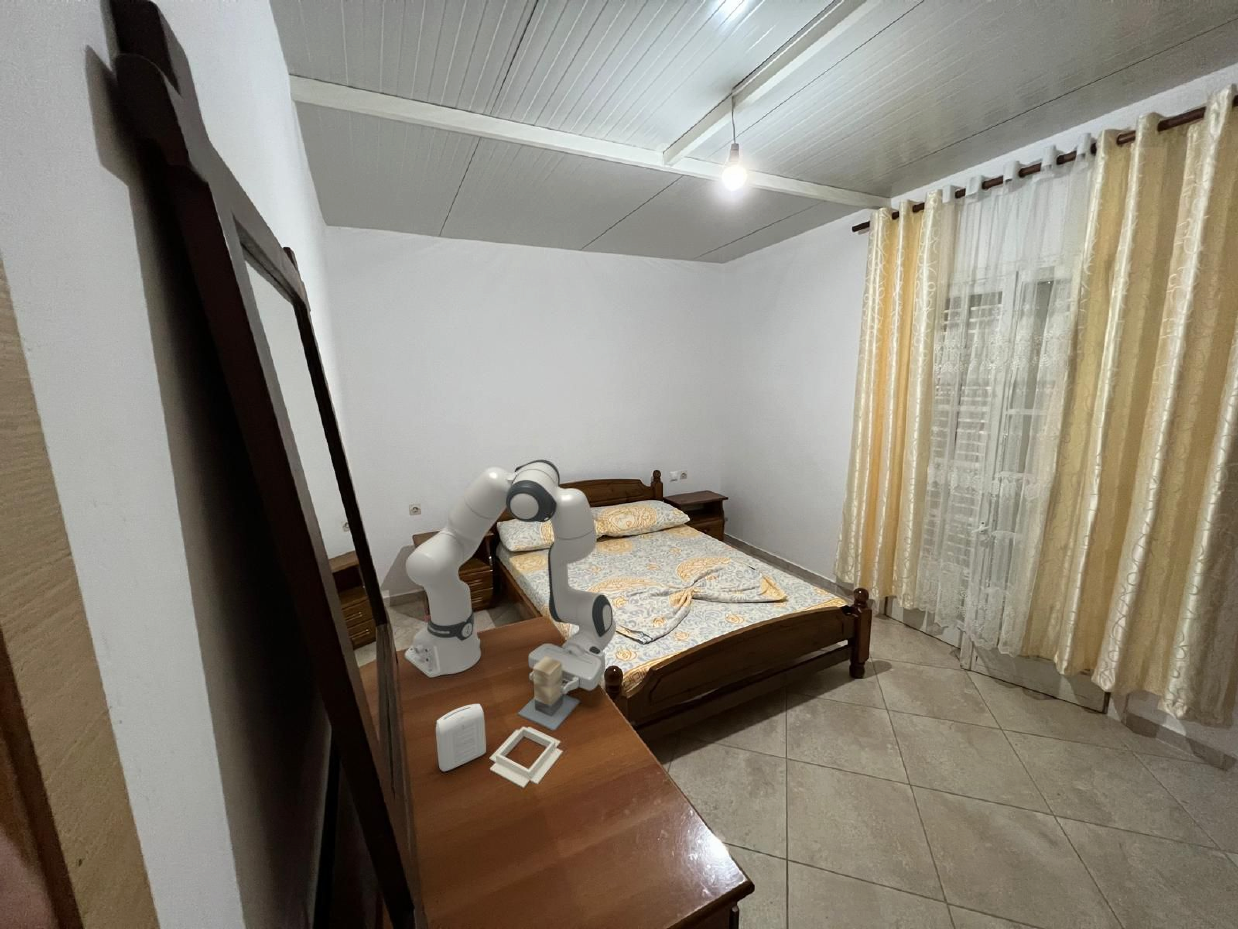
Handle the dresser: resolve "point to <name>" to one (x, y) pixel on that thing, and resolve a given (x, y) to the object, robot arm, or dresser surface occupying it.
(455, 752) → the photo printer
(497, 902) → the dresser surface
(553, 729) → the slate mat
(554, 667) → the block
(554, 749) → the flanged square frame
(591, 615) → the robot arm
